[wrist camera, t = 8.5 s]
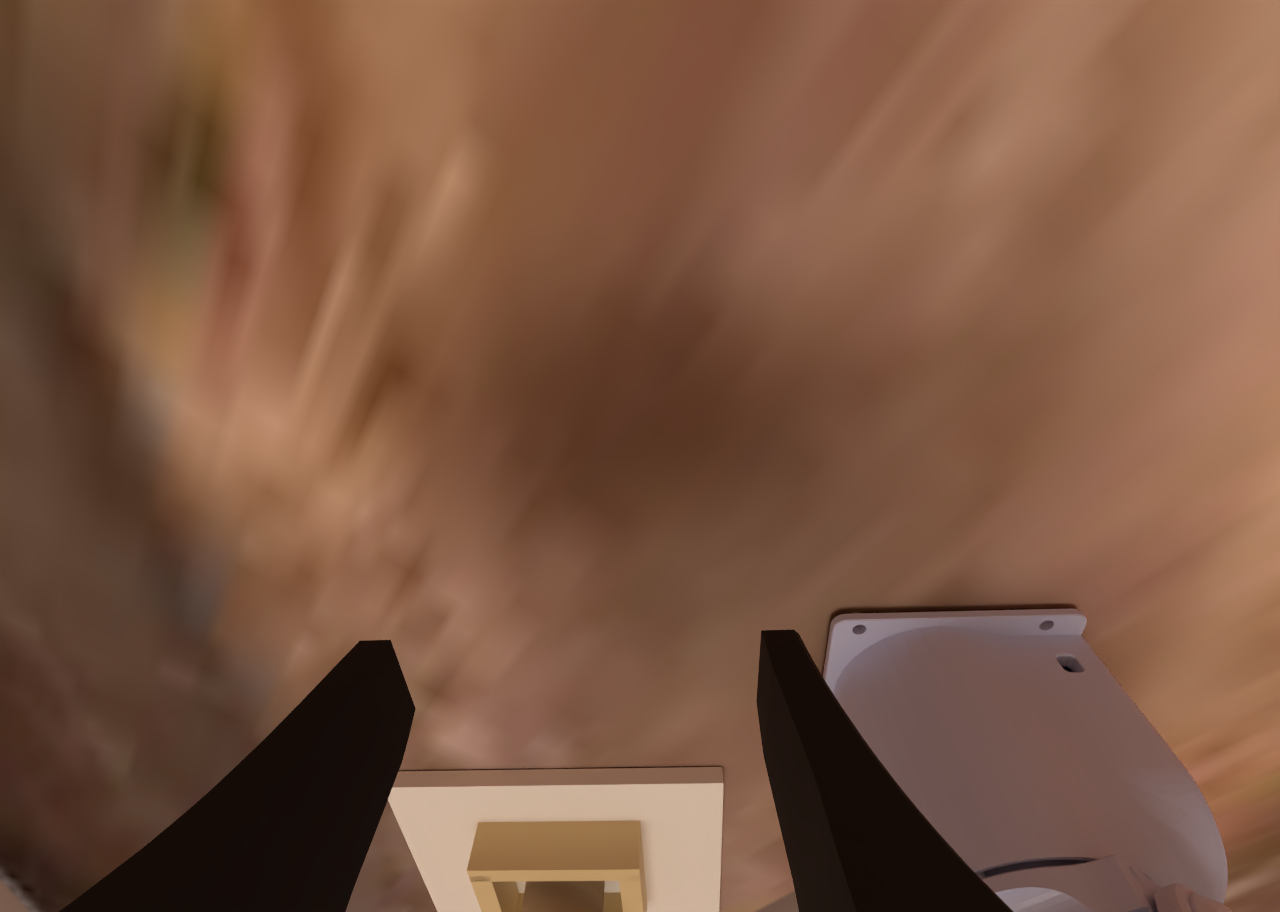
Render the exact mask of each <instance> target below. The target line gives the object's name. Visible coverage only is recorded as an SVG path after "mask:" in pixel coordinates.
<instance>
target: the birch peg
mask: <svg viewBox="0 0 1280 912" xmlns="http://www.w3.org/2000/svg"><path fill="white" fill-rule="evenodd" d="M604 886H605V881H526V884H525V891H524V897H523V903H522V909H521V912H603V903H604Z"/></svg>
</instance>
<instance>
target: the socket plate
mask: <svg viewBox="0 0 1280 912" xmlns="http://www.w3.org/2000/svg"><path fill="white" fill-rule="evenodd" d="M723 786H724V782H723V773H722V767H673V768H603V769H532V770H461V771H398V774H397V777H396V779H395V782H394V784H393V787H392V790H391V792H390V795H389V798H388V801H389V803H390V806H391V808H392V810H393V812H394V815H395V817H396V819H397V821H398V824H399V826H400V828H401V830H402V833H403V835H404V837H405V839H406V842H407V844H408V846H409V848H410V851H411V853H412V855H413V857H414V860H415V862H416V864H417V866H418V869H419V871H420V873H421V875H422V878H423V880H424V882H425V884H426V887H427V889H428V891H429V893H430V896H431V898H432V900H433V902H434V905H435V907H436V909H437V911H438V912H521V909H522V903H523V897H524V891H525V884H526V881H605V886H604V903H603V912H719V901H720V873H721V844H722V815H723Z"/></svg>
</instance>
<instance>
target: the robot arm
mask: <svg viewBox="0 0 1280 912" xmlns="http://www.w3.org/2000/svg"><path fill="white" fill-rule="evenodd" d="M1086 624H1087V619H1086V617H1085V616H1084V614H1083V613H1082V612H1081V611H1080V610H1078V609H1031V610H988V611H945V612H903V613H860V614H841V615H838V616H836V617H835V618H834V619H833V620H832V622H831V624H830V631H829V638H828V644H827V651H826V658H825V664H824V671H823V677H822V675H821V673H820V672H819V670H818V668H817V666H816V665H815V663H814V661H813V660H812V658H811V656H810V654H809V652H808V651H807V649H806V647H805V645H804V643H803V641H802V639H801V637H800V635H799V634H798V633H797V632H796V631H795V630H766V631H761V645H760V659H759V674H758V689H757V708H758V716H759V724H760V732H761V739H762V746H763V754H764V759H765V763H766V768H767V772H768V776H769V781H770V785H771V789H772V794H773V798H774V802H775V806H776V811H777V815H778V819H779V823H780V827H781V832H782V836H783V840H784V844H785V849H786V853H787V857H788V861H789V866H790V870H791V874H792V878H793V883H794V888H795V893H796V898H797V903H798V908H799V912H1232V911H1231V910H1230V909H1229V908H1227V907H1226V906H1225V905H1223V903H1224V900H1225V895H1226V890H1227V882H1228V868H1227V859H1226V854H1225V849H1224V846H1223V842H1222V839H1221V836H1220V833H1219V830H1218V827H1217V825H1216V822H1215V820H1214V817H1213V815H1212V812H1211V810H1210V808H1209V806H1208V804H1207V802H1206V800H1205V798H1204V796H1203V794H1202V792H1201V791H1200V789H1199V787H1198V786H1197V784H1196V782H1195V781H1194V779H1193V777H1192V776H1191V775H1190V773H1189V772H1188V770H1187V769H1186V768H1185V766H1184V765H1183V764H1182V762H1181V761H1180V760H1179V758H1178V757H1177V756H1176V755H1175V753H1174V752H1173V751H1172V750H1171V748H1170V747H1169V746H1168V745H1167V743H1166V742H1165V741H1164V739H1163V738H1162V737H1161V736H1160V734H1159V733H1158V732H1157V731H1156V729H1155V728H1154V727H1153V725H1152V724H1151V723H1150V722H1149V720H1148V719H1147V718H1146V717H1145V715H1144V714H1143V713H1142V712H1141V710H1140V709H1139V708H1138V706H1137V705H1136V704H1135V703H1134V701H1133V700H1132V699H1131V698H1130V696H1129V695H1128V694H1127V693H1126V691H1125V690H1124V689H1123V687H1122V686H1121V685H1120V684H1119V682H1118V681H1117V680H1116V679H1115V677H1114V676H1113V675H1112V673H1111V672H1110V671H1109V670H1108V668H1107V667H1106V666H1105V665H1104V663H1103V662H1102V661H1101V660H1100V658H1099V657H1098V656H1097V654H1096V653H1095V652H1094V651H1093V649H1092V648H1091V647H1090V646H1089V644H1088V643H1087V642H1086V641H1085V639H1084V638H1083V637H1082V636H1081V635H1082V633H1083V631H1084V628H1085V626H1086ZM856 625H860V626H858V627H855V626H856ZM414 712H415V706H414V703H413V701H412V698H411V695H410V692H409V690H408V687H407V684H406V681H405V679H404V676H403V673H402V670H401V668H400V665H399V662H398V659H397V657H396V654H395V651H394V648H393V646H392V643H391V640H374V641H359V642H358V643H357V644H356V645H355V646H354V648H353V649H352V650H351V651H350V652H349V653H348V654H347V655H346V656H345V657H344V658H343V659H342V660H341V661H340V662H339V663H338V664H337V665H336V666H335V667H334V668H333V669H332V670H331V671H330V672H329V673H328V674H327V676H326V677H325V678H324V679H323V680H322V681H321V682H320V683H319V684H318V685H317V686H316V687H315V688H314V689H313V690H312V691H311V692H310V693H309V694H308V695H307V696H306V698H305V699H304V700H303V701H302V702H301V703H300V704H299V705H298V706H297V707H296V708H295V709H294V710H293V711H292V712H291V713H290V714H289V715H288V716H287V717H286V718H285V719H284V720H283V721H282V722H281V723H280V724H279V725H278V726H277V727H276V728H275V729H274V730H273V731H272V732H271V733H270V734H269V735H268V736H267V737H266V738H265V739H264V740H263V741H262V742H261V743H260V744H259V745H258V746H257V747H256V748H255V749H254V750H253V751H252V752H251V753H250V754H249V755H248V756H247V757H246V758H245V759H243V760H242V761H241V762H240V763H239V764H238V765H237V766H236V767H235V768H234V769H233V770H232V771H231V772H230V773H229V774H228V775H227V776H226V777H224V778H223V779H222V780H221V781H220V782H219V783H218V784H217V785H216V786H215V787H214V788H213V789H212V790H211V791H209V792H208V793H207V794H206V795H205V796H204V797H203V798H202V799H200V800H199V801H198V802H197V803H196V804H195V805H194V806H192V807H191V808H190V809H189V810H188V811H187V812H186V813H184V814H183V815H182V816H181V817H180V818H178V819H177V820H176V821H175V822H174V823H172V824H171V825H170V826H169V827H168V828H167V829H165V830H164V831H163V832H162V833H161V834H159V835H158V836H157V837H156V838H155V839H153V840H152V841H151V842H150V843H148V844H147V845H146V846H145V847H143V848H142V849H141V850H140V851H139V852H137V853H136V854H135V855H133V856H132V857H131V858H129V859H128V860H127V861H125V862H124V863H123V864H122V865H120V866H119V867H118V868H116V869H115V870H114V871H112V872H111V873H110V874H108V875H107V876H106V877H105V878H103V879H102V880H101V881H99V882H98V883H97V884H95V885H94V886H93V887H91V888H90V889H89V890H88V891H86V892H85V893H84V894H82V895H81V896H80V897H78V898H77V899H76V900H74V901H73V902H72V903H70V904H69V905H68V906H66V907H65V908H64V909H62V910H61V911H59V912H345V911H346V908H347V905H348V903H349V900H350V897H351V894H352V891H353V888H354V885H355V883H356V880H357V878H358V875H359V872H360V870H361V867H362V865H363V862H364V860H365V857H366V854H367V852H368V849H369V847H370V844H371V842H372V839H373V836H374V834H375V831H376V829H377V826H378V824H379V821H380V818H381V816H382V813H383V811H384V808H385V806H386V803H387V800H388V798H389V795H390V792H391V790H392V787H393V784H394V782H395V779H396V777H397V774H398V771H399V768H400V766H401V763H402V760H403V756H404V752H405V748H406V745H407V741H408V737H409V733H410V729H411V725H412V721H413V716H414Z"/></svg>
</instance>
